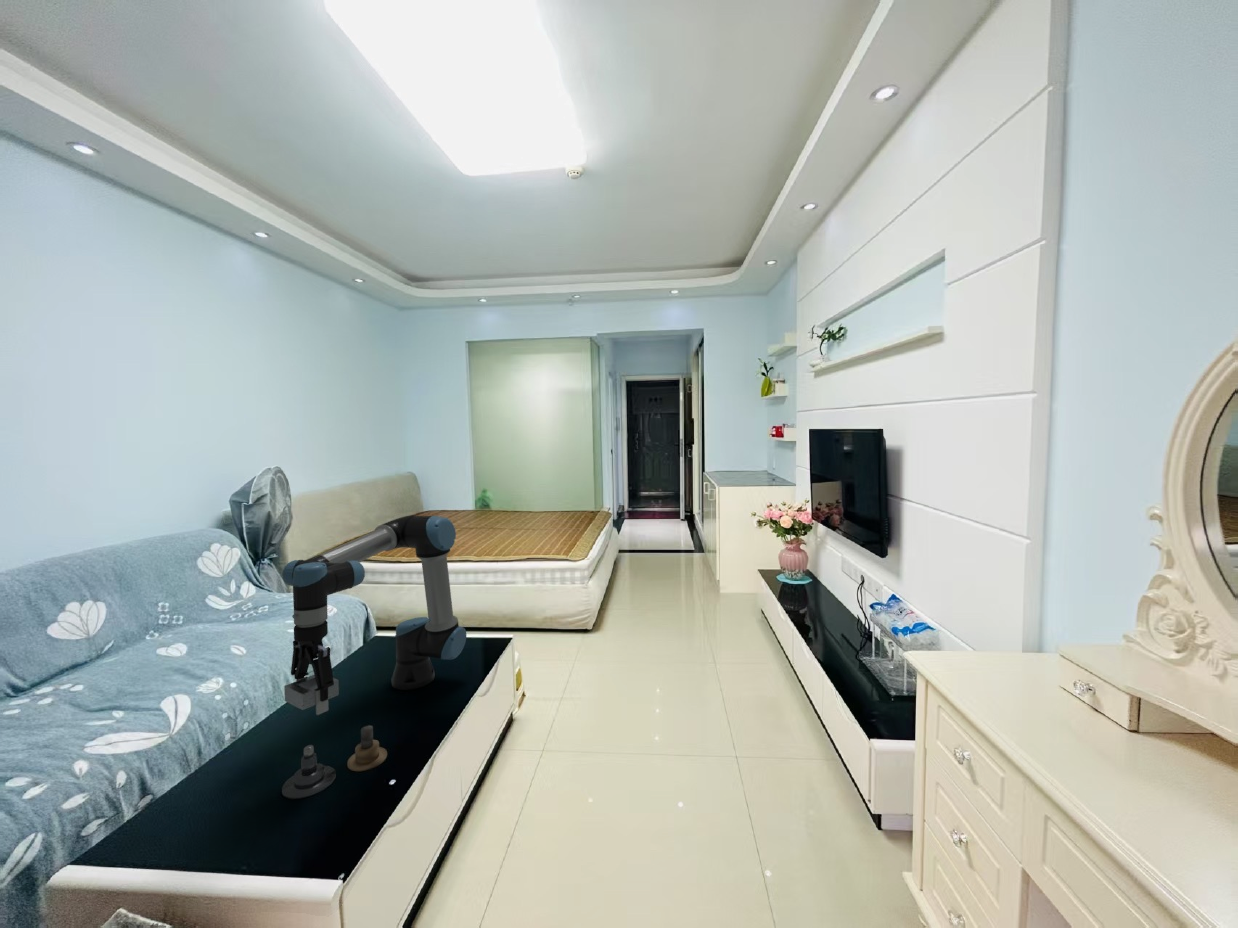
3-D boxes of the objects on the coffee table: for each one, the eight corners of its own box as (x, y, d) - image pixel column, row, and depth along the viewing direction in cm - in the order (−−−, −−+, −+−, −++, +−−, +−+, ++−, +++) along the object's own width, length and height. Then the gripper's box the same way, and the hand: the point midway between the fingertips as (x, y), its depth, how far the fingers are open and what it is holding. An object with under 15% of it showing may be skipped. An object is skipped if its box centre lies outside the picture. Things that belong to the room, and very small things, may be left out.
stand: (373, 744, 145) (373, 715, 144) (394, 755, 139) (393, 725, 139) (339, 763, 136) (339, 732, 136) (360, 775, 131) (359, 743, 131)
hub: (321, 762, 137) (320, 729, 136) (345, 777, 130) (344, 742, 130) (273, 788, 126) (272, 752, 126) (296, 805, 120) (295, 767, 120)
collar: (320, 686, 134) (320, 672, 134) (338, 694, 130) (338, 679, 130) (284, 700, 127) (284, 685, 126) (302, 710, 122) (302, 694, 122)
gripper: (274, 619, 130) (275, 702, 131) (318, 635, 119) (319, 725, 119) (304, 611, 136) (305, 691, 137) (348, 625, 125) (349, 711, 126)
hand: (312, 707), depth 128 cm, fingers closed on collar, 9 cm apart
